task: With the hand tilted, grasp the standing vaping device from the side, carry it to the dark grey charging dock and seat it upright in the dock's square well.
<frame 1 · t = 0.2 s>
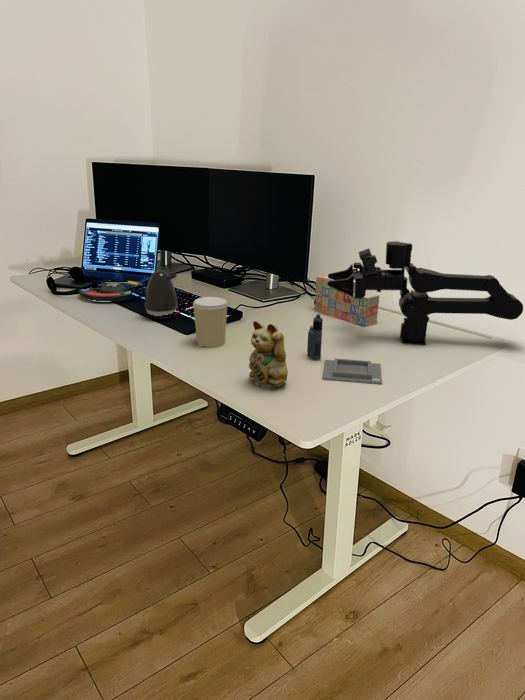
hand: (327, 279, 153), 17 cm above the table, tool horizontal, fingers open, 9 cm apart
stack of blocks: (344, 318, 177), on the table
vaping device: (313, 358, 143), on the table
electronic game: (113, 296, 196), on the table
dock: (352, 372, 134), on the table
decorative figurine: (269, 382, 127), on the table
coffee cup: (210, 343, 151), on the table
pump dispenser: (162, 318, 172), on the table
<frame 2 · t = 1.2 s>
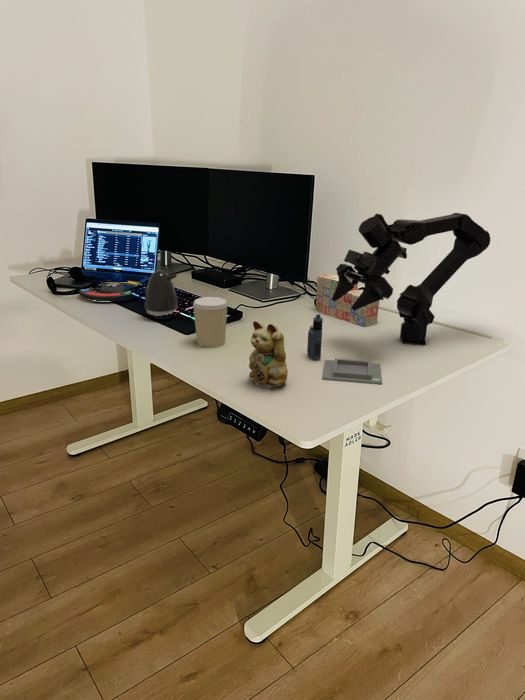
hand: (342, 304, 141), 13 cm above the table, tool tilted 45°, fingers open, 9 cm apart
nothing on the table moved.
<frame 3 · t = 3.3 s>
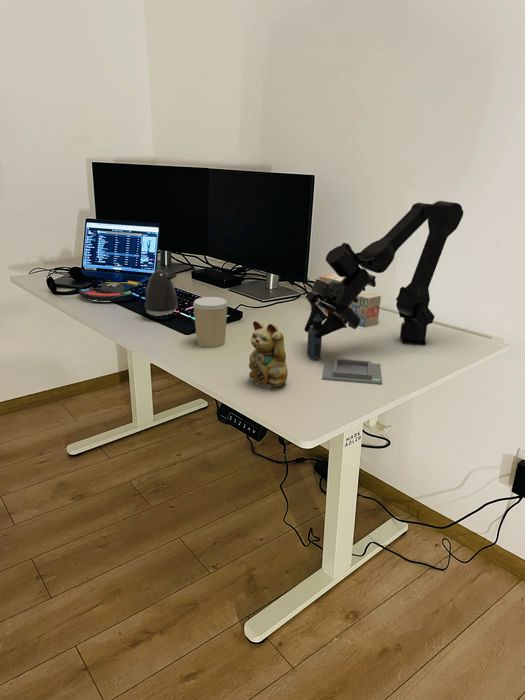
hand: (310, 334, 140), 7 cm above the table, tool tilted 45°, fingers closed on vaping device, 5 cm apart
vaping device: (313, 358, 143), on the table, touching gripper
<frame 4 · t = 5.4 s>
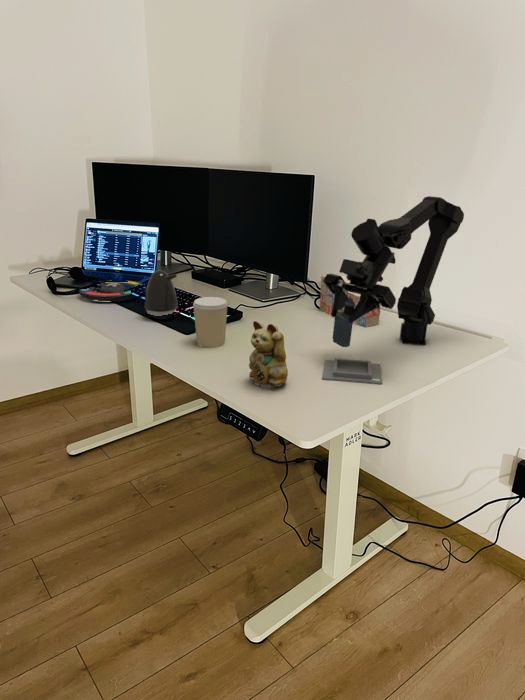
hand: (341, 319, 130), 13 cm above the table, tool tilted 45°, fingers closed on vaping device, 5 cm apart
vaping device: (340, 344, 134), point 6 cm above the table, touching gripper
when the fingers open (8 cm above the table, at t = 7.3 s): vaping device stays where it is, resting on dock.
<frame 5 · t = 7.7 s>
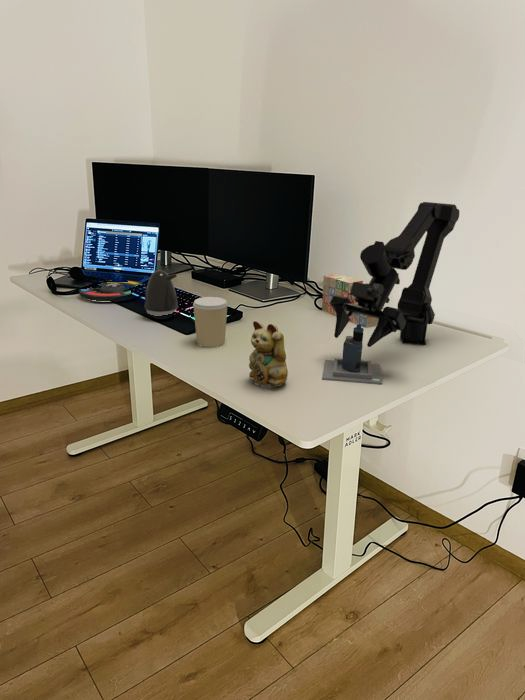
hand: (351, 341, 130), 8 cm above the table, tool tilted 45°, fingers open, 9 cm apart
vaping device: (350, 370, 134), resting on dock
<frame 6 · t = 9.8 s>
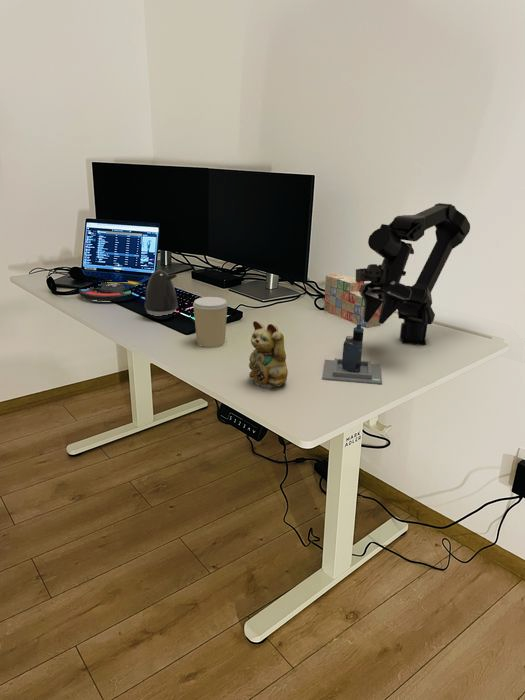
hand: (372, 322, 138), 10 cm above the table, tool tilted 25°, fingers open, 9 cm apart
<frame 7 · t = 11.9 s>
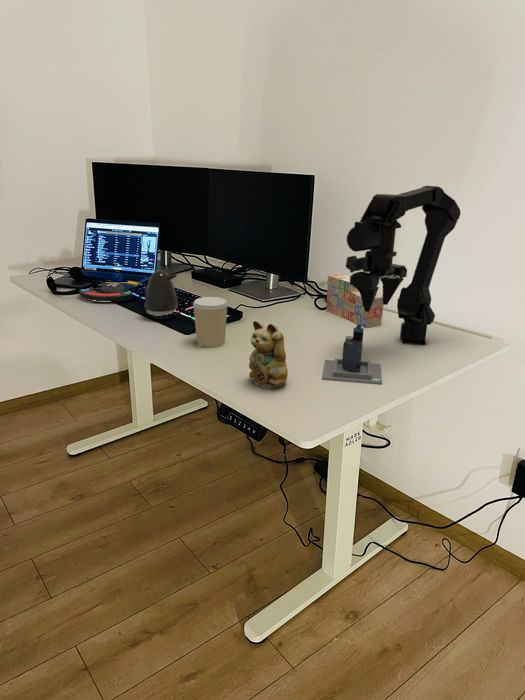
hand: (376, 308, 140), 13 cm above the table, tool pointing down, fingers open, 9 cm apart
at the end: vaping device 0.5 cm from the dock (horizontally); vaping device tilted 0°; vaping device resting on dock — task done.
